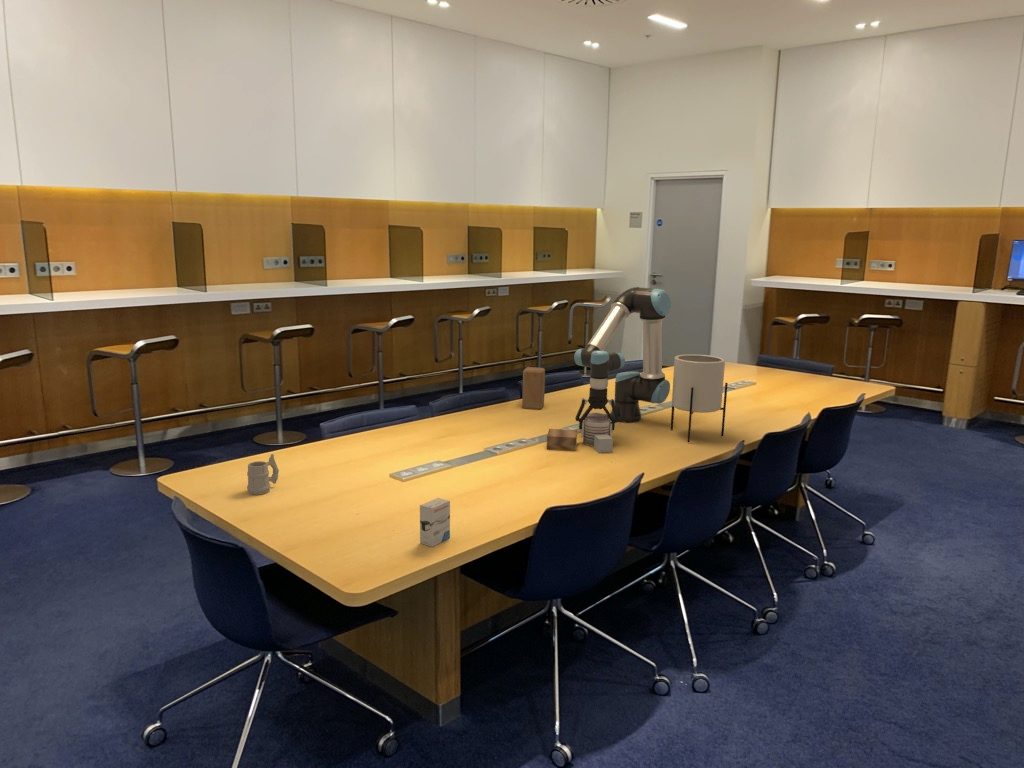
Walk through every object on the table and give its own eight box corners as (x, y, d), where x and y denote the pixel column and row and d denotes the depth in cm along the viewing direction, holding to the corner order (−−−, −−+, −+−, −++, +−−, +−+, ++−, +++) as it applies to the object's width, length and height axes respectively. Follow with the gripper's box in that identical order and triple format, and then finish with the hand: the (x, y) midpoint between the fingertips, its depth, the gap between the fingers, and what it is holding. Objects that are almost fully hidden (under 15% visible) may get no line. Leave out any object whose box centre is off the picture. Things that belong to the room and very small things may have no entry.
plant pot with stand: (725, 433, 349) (731, 357, 341) (715, 446, 327) (722, 365, 320) (673, 427, 358) (678, 352, 351) (660, 439, 337) (665, 360, 330)
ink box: (438, 534, 229) (438, 496, 226) (450, 538, 226) (450, 500, 224) (418, 543, 222) (418, 504, 219) (431, 547, 219) (431, 508, 217)
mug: (242, 492, 260) (240, 458, 258) (271, 483, 270) (270, 450, 267) (255, 497, 256) (254, 462, 254) (285, 488, 265) (284, 454, 263)
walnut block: (576, 443, 329) (577, 430, 327) (575, 451, 317) (576, 437, 316) (548, 442, 330) (549, 428, 329) (546, 450, 318) (547, 436, 317)
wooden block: (541, 410, 386) (542, 371, 382) (521, 408, 388) (522, 370, 384) (544, 405, 396) (545, 367, 392) (525, 404, 398) (526, 366, 394)
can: (611, 441, 332) (613, 414, 330) (606, 448, 322) (607, 420, 320) (586, 438, 336) (587, 411, 334) (579, 445, 326) (581, 417, 323)
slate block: (607, 448, 322) (607, 434, 321) (612, 452, 316) (613, 438, 315) (593, 449, 320) (594, 435, 319) (598, 453, 315) (599, 439, 313)
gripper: (625, 386, 327) (622, 435, 332) (570, 384, 328) (568, 434, 332) (627, 390, 320) (624, 440, 325) (571, 388, 321) (569, 438, 325)
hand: (596, 437), depth 328 cm, fingers closed on can, 11 cm apart
